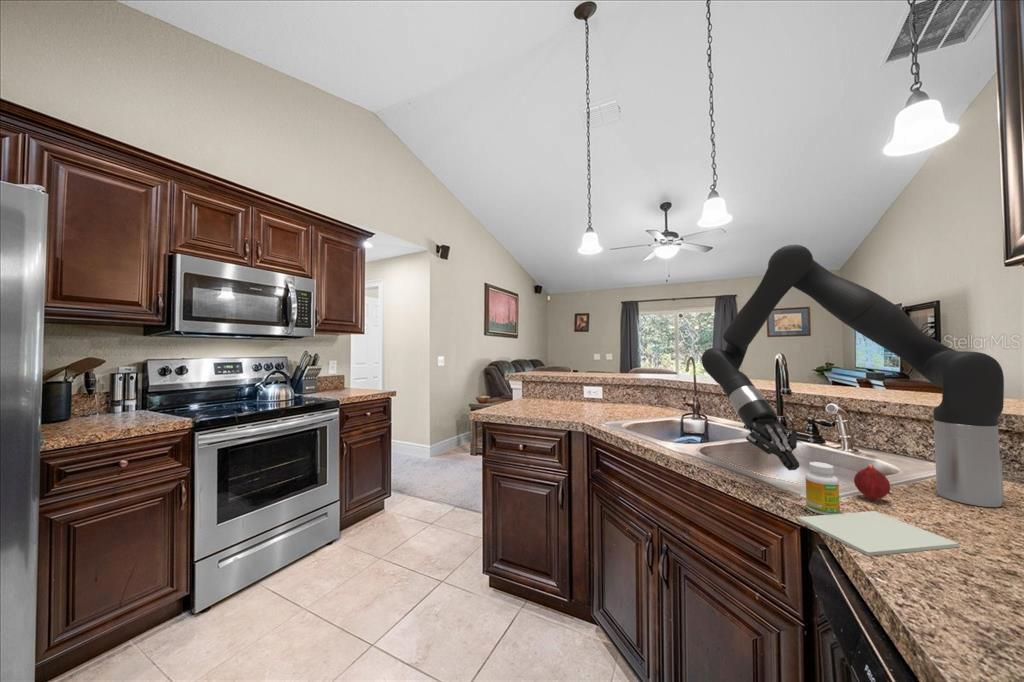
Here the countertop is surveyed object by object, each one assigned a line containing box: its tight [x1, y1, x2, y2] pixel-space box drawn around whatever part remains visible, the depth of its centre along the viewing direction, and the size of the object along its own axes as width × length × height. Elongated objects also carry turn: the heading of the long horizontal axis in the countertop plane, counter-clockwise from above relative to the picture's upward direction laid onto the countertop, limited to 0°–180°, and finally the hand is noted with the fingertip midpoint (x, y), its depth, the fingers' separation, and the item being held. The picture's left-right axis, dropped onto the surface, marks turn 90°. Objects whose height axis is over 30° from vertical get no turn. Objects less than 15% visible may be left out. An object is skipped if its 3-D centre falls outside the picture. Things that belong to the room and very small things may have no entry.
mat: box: [797, 510, 960, 557], centre depth 69 cm, size 18×13×1 cm
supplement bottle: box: [805, 461, 841, 515], centre depth 78 cm, size 5×5×10 cm
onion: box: [853, 463, 891, 501], centre depth 83 cm, size 6×6×8 cm
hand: (794, 468), depth 85 cm, fingers closed
